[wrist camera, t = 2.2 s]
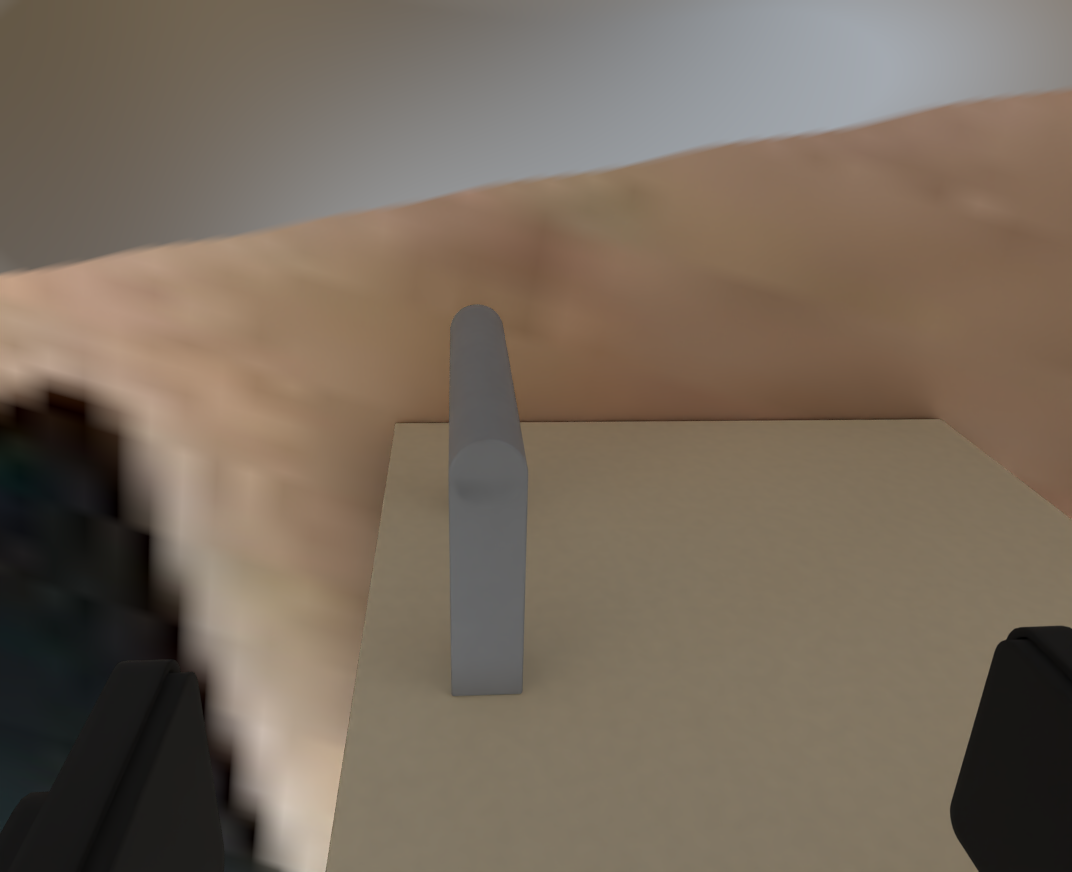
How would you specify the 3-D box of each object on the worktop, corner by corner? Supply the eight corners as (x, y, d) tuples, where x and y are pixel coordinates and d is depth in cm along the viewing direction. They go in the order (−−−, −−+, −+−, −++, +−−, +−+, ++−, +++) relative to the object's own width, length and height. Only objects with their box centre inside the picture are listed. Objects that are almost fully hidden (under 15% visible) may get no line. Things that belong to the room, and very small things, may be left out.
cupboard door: (388, 259, 32) (278, 621, 12) (976, 264, 33) (1730, 581, 14) (396, 446, 34) (317, 986, 15) (936, 440, 36) (1509, 912, 17)
